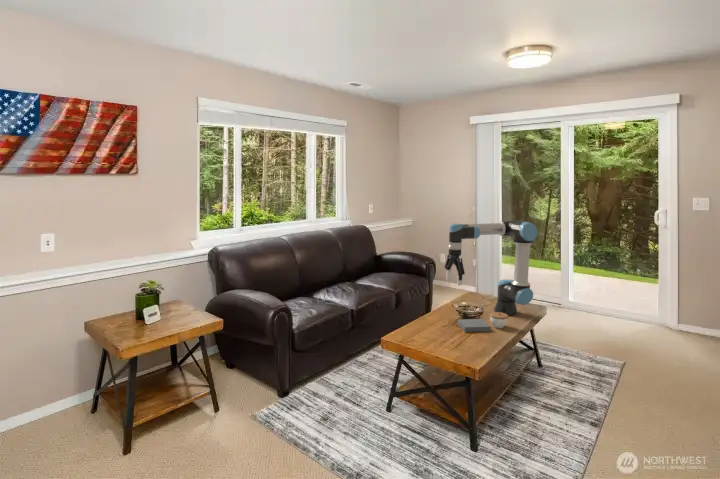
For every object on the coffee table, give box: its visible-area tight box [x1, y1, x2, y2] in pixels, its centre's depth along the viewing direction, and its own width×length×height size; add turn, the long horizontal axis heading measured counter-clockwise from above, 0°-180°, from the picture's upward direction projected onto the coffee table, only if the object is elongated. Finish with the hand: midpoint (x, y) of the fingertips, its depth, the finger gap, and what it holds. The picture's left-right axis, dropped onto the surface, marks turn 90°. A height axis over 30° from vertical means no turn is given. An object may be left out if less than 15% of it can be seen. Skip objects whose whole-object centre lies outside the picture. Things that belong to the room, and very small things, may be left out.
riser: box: [457, 318, 491, 333], centre depth 259 cm, size 16×14×3 cm
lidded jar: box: [489, 311, 509, 329], centre depth 260 cm, size 11×11×9 cm
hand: (453, 282), depth 258 cm, fingers open, 13 cm apart
